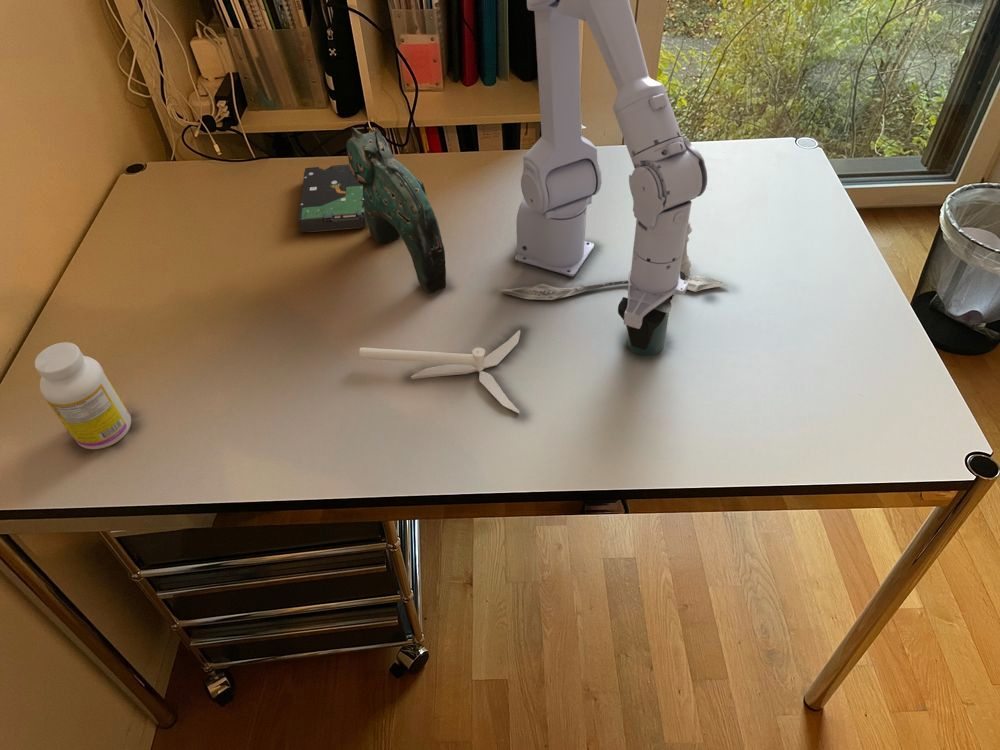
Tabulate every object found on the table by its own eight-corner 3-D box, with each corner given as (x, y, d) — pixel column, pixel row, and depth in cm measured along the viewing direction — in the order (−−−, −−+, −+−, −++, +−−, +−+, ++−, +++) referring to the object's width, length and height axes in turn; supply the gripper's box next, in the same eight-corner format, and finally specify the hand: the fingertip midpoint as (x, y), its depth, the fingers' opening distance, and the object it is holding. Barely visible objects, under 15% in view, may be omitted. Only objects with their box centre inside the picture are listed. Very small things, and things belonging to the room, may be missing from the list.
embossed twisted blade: (731, 289, 108) (720, 267, 111) (731, 286, 107) (721, 264, 111) (500, 312, 106) (497, 288, 110) (500, 308, 106) (497, 285, 109)
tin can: (620, 349, 101) (624, 309, 96) (634, 325, 104) (638, 284, 99) (657, 361, 99) (663, 320, 94) (670, 336, 102) (676, 296, 97)
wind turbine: (344, 382, 93) (518, 393, 91) (372, 304, 103) (530, 312, 101) (350, 403, 96) (519, 415, 94) (377, 325, 106) (530, 334, 104)
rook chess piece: (692, 266, 111) (699, 216, 106) (687, 283, 108) (694, 233, 103) (661, 261, 113) (667, 212, 107) (655, 278, 110) (661, 228, 104)
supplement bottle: (84, 411, 97) (35, 337, 87) (138, 407, 97) (95, 332, 88) (69, 454, 92) (15, 381, 83) (125, 449, 92) (79, 375, 83)
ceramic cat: (359, 233, 120) (334, 112, 105) (396, 218, 122) (376, 98, 108) (421, 303, 108) (403, 178, 94) (461, 285, 111) (449, 161, 96)
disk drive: (307, 182, 130) (301, 234, 120) (303, 167, 128) (297, 219, 118) (369, 176, 131) (368, 228, 121) (366, 161, 129) (365, 212, 119)
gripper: (670, 295, 84) (657, 380, 94) (711, 222, 93) (694, 307, 103) (610, 277, 87) (602, 362, 97) (654, 208, 95) (643, 292, 105)
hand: (646, 333), depth 100 cm, fingers closed on tin can, 5 cm apart
